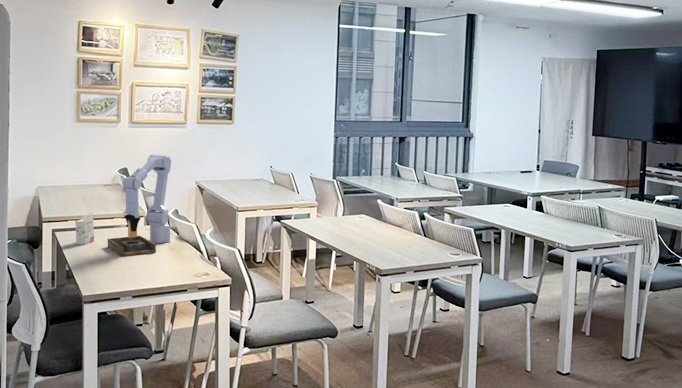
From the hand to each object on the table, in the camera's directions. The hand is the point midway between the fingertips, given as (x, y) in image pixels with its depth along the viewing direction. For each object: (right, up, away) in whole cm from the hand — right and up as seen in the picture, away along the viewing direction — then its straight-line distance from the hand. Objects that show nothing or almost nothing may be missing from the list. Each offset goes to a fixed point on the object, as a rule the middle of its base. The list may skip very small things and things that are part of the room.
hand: (132, 230), depth 327 cm
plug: (0, -3, +1) cm, 3 cm away
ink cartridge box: (-28, -7, +15) cm, 32 cm away
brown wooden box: (-1, -10, +3) cm, 10 cm away
